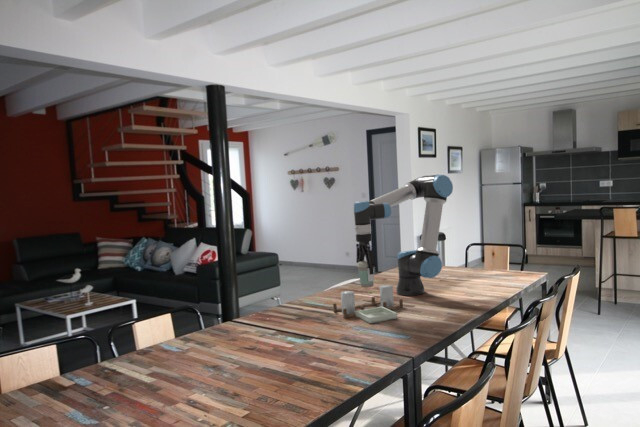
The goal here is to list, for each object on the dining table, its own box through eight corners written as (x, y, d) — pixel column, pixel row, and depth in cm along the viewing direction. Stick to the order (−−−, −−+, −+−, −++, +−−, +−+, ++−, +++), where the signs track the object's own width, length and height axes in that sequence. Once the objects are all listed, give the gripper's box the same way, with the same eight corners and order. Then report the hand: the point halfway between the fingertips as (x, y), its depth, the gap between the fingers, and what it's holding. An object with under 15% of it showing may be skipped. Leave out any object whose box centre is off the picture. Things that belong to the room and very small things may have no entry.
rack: (389, 301, 246) (389, 294, 245) (403, 307, 233) (403, 299, 233) (333, 311, 235) (332, 303, 234) (344, 318, 222) (343, 309, 222)
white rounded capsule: (351, 310, 234) (350, 290, 234) (357, 313, 228) (356, 292, 228) (340, 312, 232) (338, 292, 231) (345, 315, 226) (344, 294, 225)
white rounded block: (389, 304, 242) (388, 284, 241) (396, 306, 236) (394, 286, 235) (378, 305, 239) (377, 286, 239) (384, 308, 233) (383, 288, 233)
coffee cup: (370, 288, 227) (368, 263, 226) (355, 287, 232) (353, 263, 232) (379, 284, 234) (377, 260, 233) (364, 283, 239) (362, 260, 238)
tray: (382, 311, 229) (382, 306, 228) (397, 318, 216) (396, 312, 215) (355, 316, 224) (355, 310, 224) (369, 323, 211) (369, 317, 210)
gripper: (347, 232, 240) (350, 277, 242) (366, 235, 220) (369, 284, 222) (360, 230, 243) (364, 274, 244) (380, 234, 223) (384, 281, 224)
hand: (366, 279), depth 233 cm, fingers closed on coffee cup, 9 cm apart
